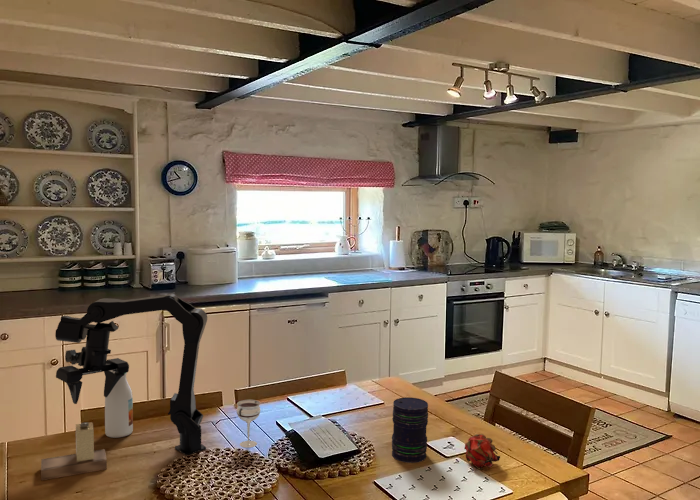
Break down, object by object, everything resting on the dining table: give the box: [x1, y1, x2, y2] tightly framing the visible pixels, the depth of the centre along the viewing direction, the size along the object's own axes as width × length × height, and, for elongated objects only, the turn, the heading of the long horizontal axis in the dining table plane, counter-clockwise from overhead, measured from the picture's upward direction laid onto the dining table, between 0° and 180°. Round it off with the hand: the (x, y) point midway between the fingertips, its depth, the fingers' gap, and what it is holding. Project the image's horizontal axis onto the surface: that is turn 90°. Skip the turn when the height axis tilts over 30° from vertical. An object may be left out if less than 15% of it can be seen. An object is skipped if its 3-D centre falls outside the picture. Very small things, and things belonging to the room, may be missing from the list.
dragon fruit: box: [464, 433, 501, 471], centre depth 157 cm, size 8×8×12 cm
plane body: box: [40, 448, 108, 481], centre depth 149 cm, size 15×7×2 cm, turn 117°
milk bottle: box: [104, 372, 134, 439], centre depth 171 cm, size 8×8×20 cm
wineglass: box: [236, 399, 261, 449], centre depth 166 cm, size 7×7×12 cm
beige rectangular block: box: [75, 421, 95, 462], centre depth 150 cm, size 4×5×9 cm
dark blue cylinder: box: [391, 396, 429, 464], centre depth 161 cm, size 10×10×15 cm
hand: (90, 400), depth 159 cm, fingers open, 9 cm apart
